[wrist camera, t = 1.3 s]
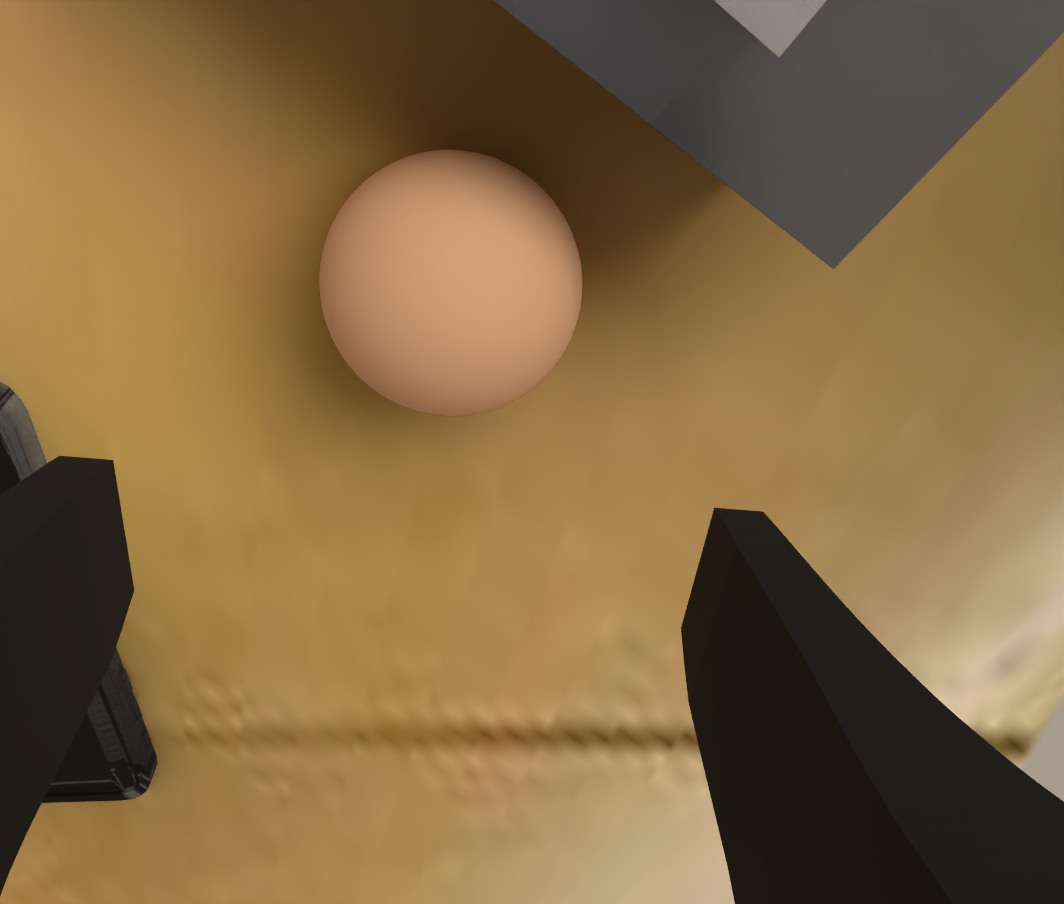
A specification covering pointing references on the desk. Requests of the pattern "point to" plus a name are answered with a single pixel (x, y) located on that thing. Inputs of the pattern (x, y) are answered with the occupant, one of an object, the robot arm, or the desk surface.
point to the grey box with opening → (805, 90)
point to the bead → (450, 282)
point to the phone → (113, 716)
